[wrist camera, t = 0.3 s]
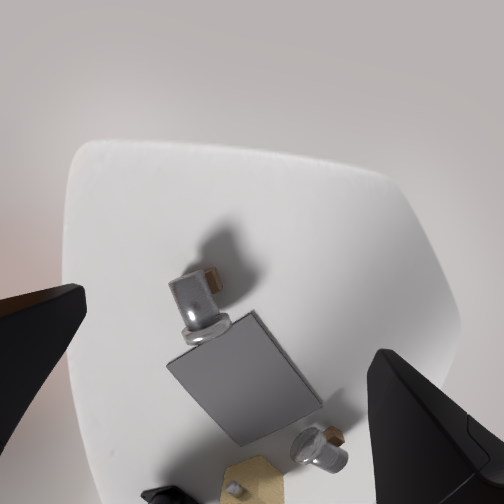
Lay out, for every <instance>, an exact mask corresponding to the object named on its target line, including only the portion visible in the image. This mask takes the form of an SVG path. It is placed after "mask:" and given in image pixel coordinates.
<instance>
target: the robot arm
mask: <svg viewBox="0 0 504 504" xmlns="http://www.w3.org/2000/svg"><path fill="white" fill-rule="evenodd" d="M86 313H87V305H86V296H85V289H84V287H83V286H81V285H77V284H74V283H71V284H66V285H62V286H58V287H53V288H49V289H45V290H40V291H36V292H31V293H27V294H23V295H19V296H14V297H10V298H6V299H2V300H0V455H1V453H2V452H3V449H4V447H5V446H6V444H7V442H8V440H9V438H10V437H11V435H12V433H13V432H14V430H15V428H16V427H17V425H18V423H19V422H20V420H21V418H22V416H23V415H24V413H25V411H26V410H27V408H28V407H29V405H30V403H31V402H32V400H33V399H34V397H35V396H36V394H37V392H38V391H39V389H40V388H41V386H42V385H43V383H44V382H45V380H46V379H47V377H48V376H49V374H50V373H51V371H52V370H53V368H54V367H55V365H56V364H57V362H58V361H59V360H60V358H61V357H62V355H63V354H64V352H65V351H66V349H67V347H68V346H69V344H70V342H71V340H72V339H73V337H74V335H75V333H76V331H77V330H78V328H79V326H80V325H81V323H82V321H83V319H84V318H85V316H86ZM367 391H368V421H369V430H370V438H371V446H372V456H373V465H374V476H375V489H376V503H377V504H504V442H503V441H501V440H500V439H499V438H498V437H496V436H495V435H494V434H492V433H491V432H490V431H488V430H487V429H486V428H485V427H483V426H482V425H481V424H480V423H479V422H477V421H476V420H475V419H474V418H473V417H471V416H470V415H467V412H465V411H464V410H463V409H462V408H461V407H460V406H458V405H457V404H456V403H455V402H454V401H453V400H451V399H450V398H449V397H448V396H447V395H446V394H444V393H443V392H442V391H441V390H440V389H438V388H437V387H436V386H435V385H434V384H432V383H431V382H430V381H429V380H428V379H427V378H425V377H424V376H423V375H422V374H421V373H419V372H418V371H417V370H416V369H415V368H413V367H412V366H411V365H410V364H409V363H407V362H406V361H405V360H404V359H403V358H401V357H400V356H399V355H398V354H397V353H395V352H394V351H393V350H391V349H382V348H381V349H379V350H378V351H377V352H376V354H375V357H374V359H373V361H372V363H371V365H370V367H369V369H368V373H367ZM141 497H142V498H143V499H144V500H145V501H147V502H148V504H199V503H197V502H196V501H195V500H193V499H192V498H191V497H189V496H188V495H187V494H185V493H184V492H183V491H181V490H180V489H179V488H178V487H176V486H170V487H166V488H162V489H158V490H153V491H149V492H144V493H141Z"/></svg>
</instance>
